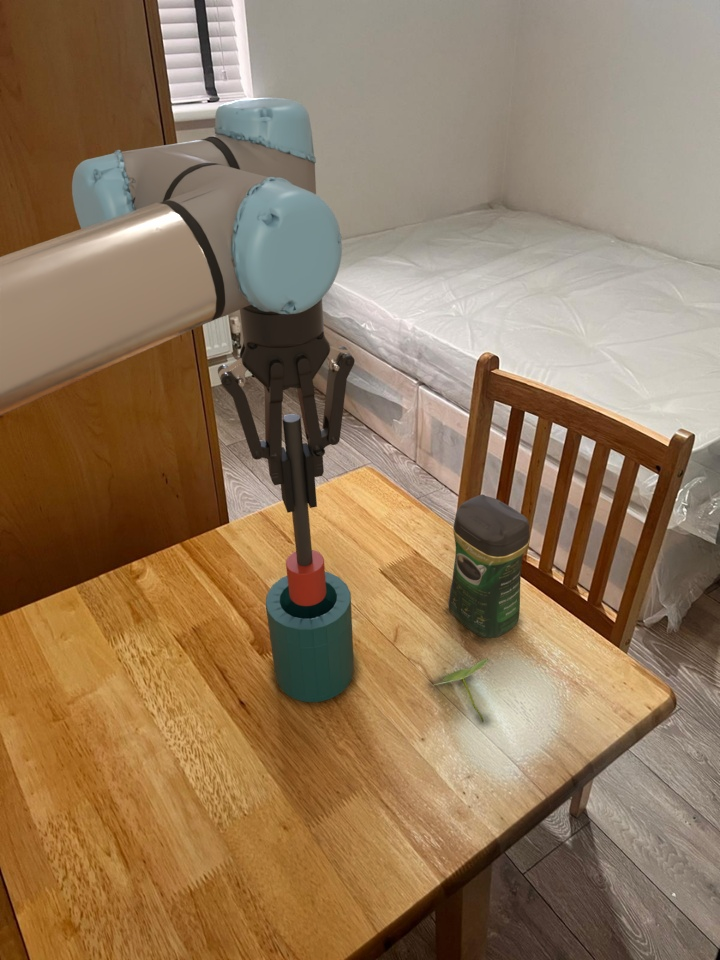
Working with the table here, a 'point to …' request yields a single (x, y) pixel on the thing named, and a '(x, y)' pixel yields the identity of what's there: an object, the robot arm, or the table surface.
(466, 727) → the table surface
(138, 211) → the robot arm
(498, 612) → the coffee jar
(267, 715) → the table surface
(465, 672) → the seedling
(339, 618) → the cup
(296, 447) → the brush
